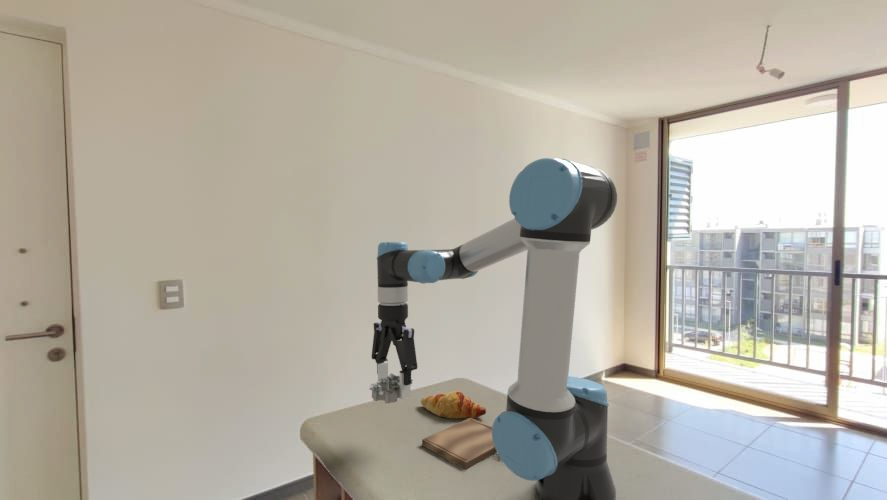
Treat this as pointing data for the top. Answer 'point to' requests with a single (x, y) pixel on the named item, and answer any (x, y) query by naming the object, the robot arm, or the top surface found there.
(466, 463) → the walnut board
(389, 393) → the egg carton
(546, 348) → the robot arm
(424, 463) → the top surface
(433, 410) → the croissant
